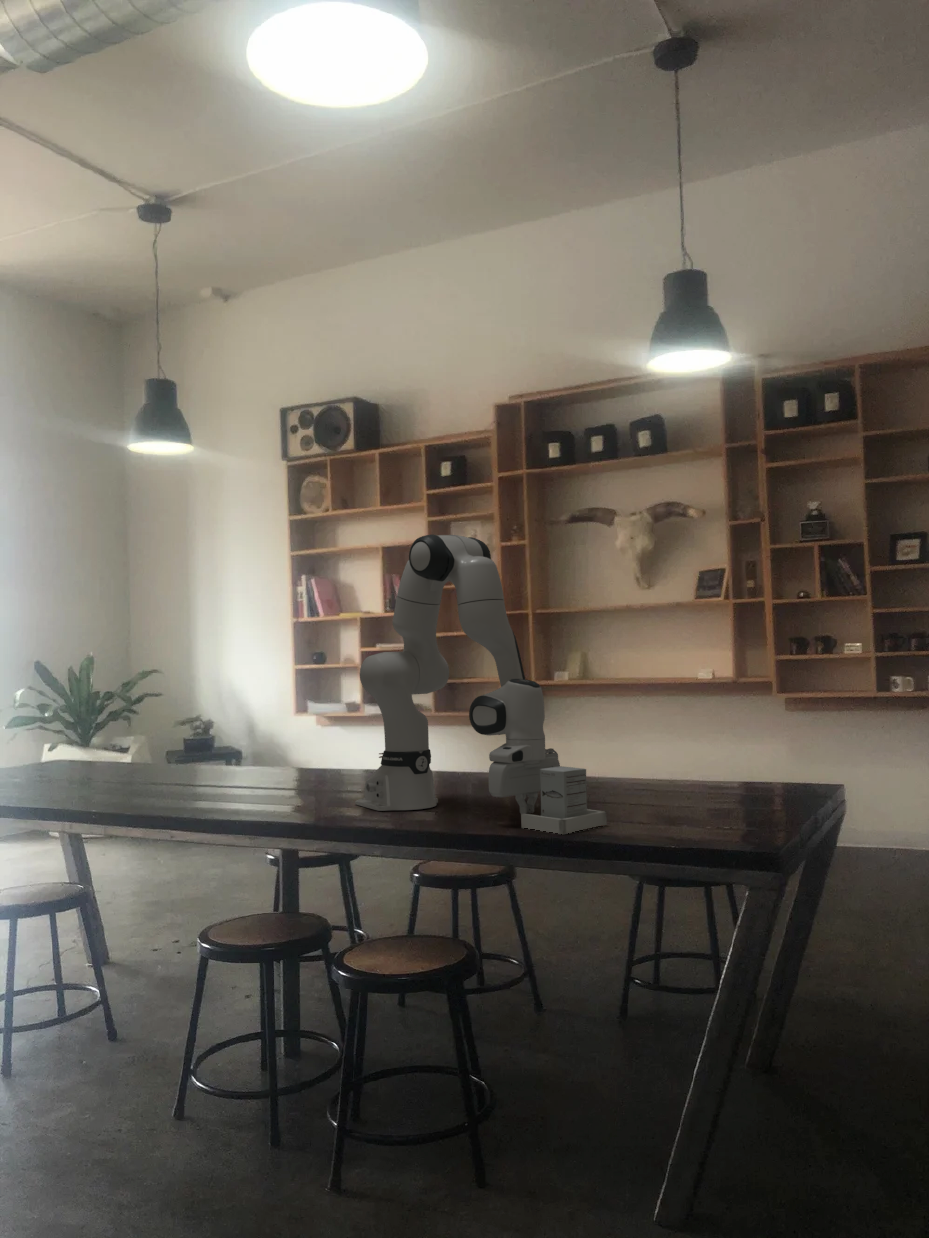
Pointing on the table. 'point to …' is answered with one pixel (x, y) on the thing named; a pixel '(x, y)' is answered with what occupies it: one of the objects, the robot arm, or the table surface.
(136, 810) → the table surface
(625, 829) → the table surface
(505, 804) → the table surface
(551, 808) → the supplement box
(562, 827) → the bay
